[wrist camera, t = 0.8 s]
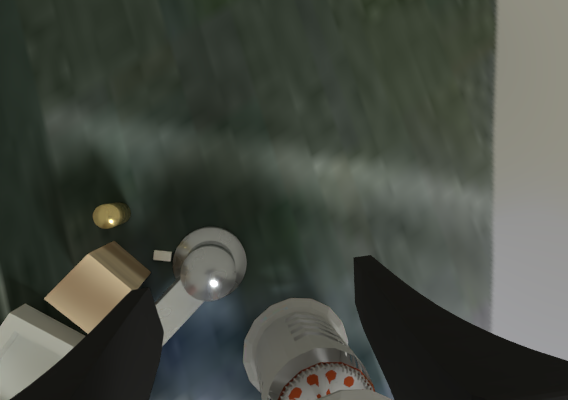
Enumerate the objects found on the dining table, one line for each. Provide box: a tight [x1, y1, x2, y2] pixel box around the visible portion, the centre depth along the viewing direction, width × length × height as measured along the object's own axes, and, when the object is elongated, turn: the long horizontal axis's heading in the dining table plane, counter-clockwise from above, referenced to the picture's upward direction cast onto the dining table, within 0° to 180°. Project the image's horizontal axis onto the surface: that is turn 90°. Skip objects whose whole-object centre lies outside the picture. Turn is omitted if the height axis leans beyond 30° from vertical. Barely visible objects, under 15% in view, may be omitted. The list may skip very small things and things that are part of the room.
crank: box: [155, 241, 236, 346], centre depth 27 cm, size 11×4×4 cm, turn 135°
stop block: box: [44, 241, 151, 334], centre depth 27 cm, size 4×4×6 cm
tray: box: [0, 304, 85, 400], centre depth 28 cm, size 9×9×2 cm
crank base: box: [93, 202, 247, 296], centre depth 29 cm, size 6×12×4 cm, turn 55°
